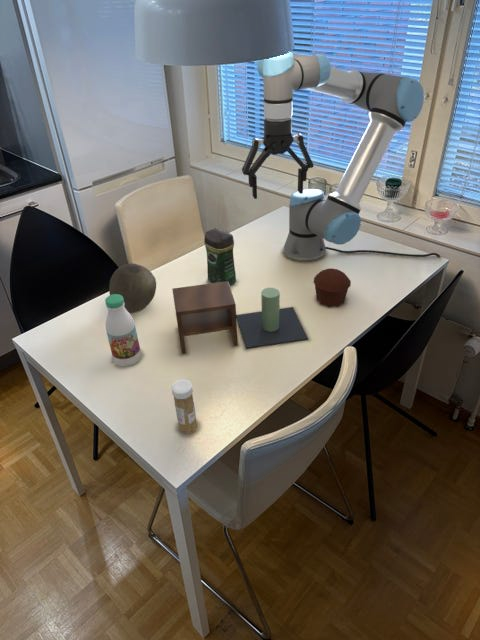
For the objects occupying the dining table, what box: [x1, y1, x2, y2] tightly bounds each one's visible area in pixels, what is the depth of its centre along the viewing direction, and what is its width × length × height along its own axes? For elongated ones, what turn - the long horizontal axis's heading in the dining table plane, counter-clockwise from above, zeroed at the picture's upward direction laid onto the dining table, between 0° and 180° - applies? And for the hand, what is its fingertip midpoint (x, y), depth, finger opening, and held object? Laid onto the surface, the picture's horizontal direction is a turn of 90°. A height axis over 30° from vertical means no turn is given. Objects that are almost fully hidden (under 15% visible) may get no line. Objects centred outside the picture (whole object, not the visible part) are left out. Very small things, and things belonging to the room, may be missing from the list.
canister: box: [260, 287, 281, 332], centre depth 142 cm, size 5×5×12 cm
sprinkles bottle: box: [171, 379, 199, 435], centre depth 112 cm, size 5×5×14 cm
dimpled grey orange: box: [108, 263, 157, 314], centre depth 152 cm, size 14×14×15 cm
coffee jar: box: [203, 227, 237, 287], centre depth 162 cm, size 10×8×19 cm
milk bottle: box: [104, 294, 142, 367], centre depth 131 cm, size 8×8×20 cm
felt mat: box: [236, 306, 309, 350], centre depth 146 cm, size 18×16×1 cm
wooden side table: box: [171, 281, 239, 355], centre depth 139 cm, size 16×12×14 cm
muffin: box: [312, 267, 352, 308], centre depth 154 cm, size 12×11×10 cm
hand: (277, 194), depth 143 cm, fingers open, 13 cm apart
